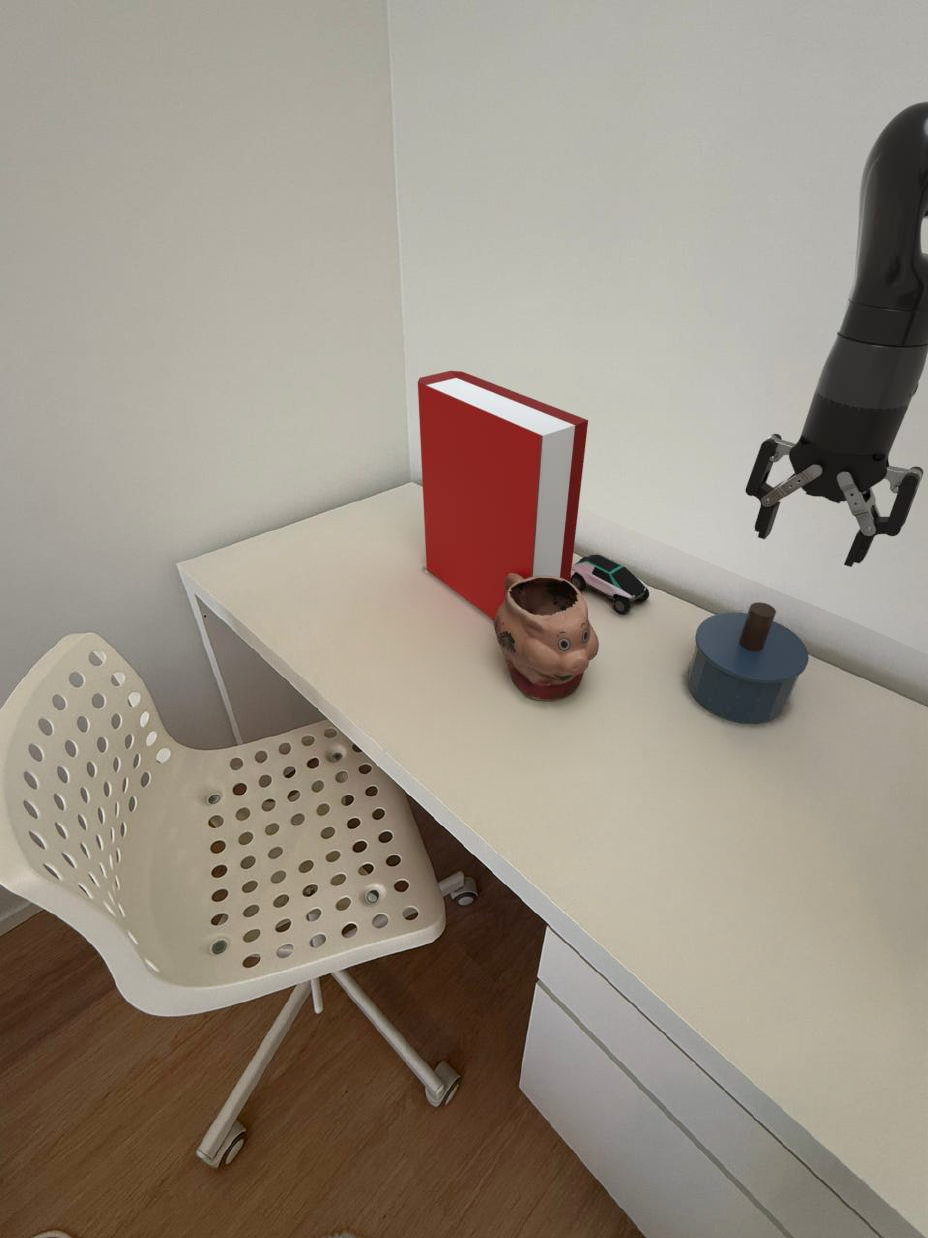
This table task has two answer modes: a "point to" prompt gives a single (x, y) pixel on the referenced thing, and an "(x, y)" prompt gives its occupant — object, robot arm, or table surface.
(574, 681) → the decorative planter
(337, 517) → the table surface
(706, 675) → the tin
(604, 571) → the toy car
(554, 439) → the book
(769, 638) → the lid
